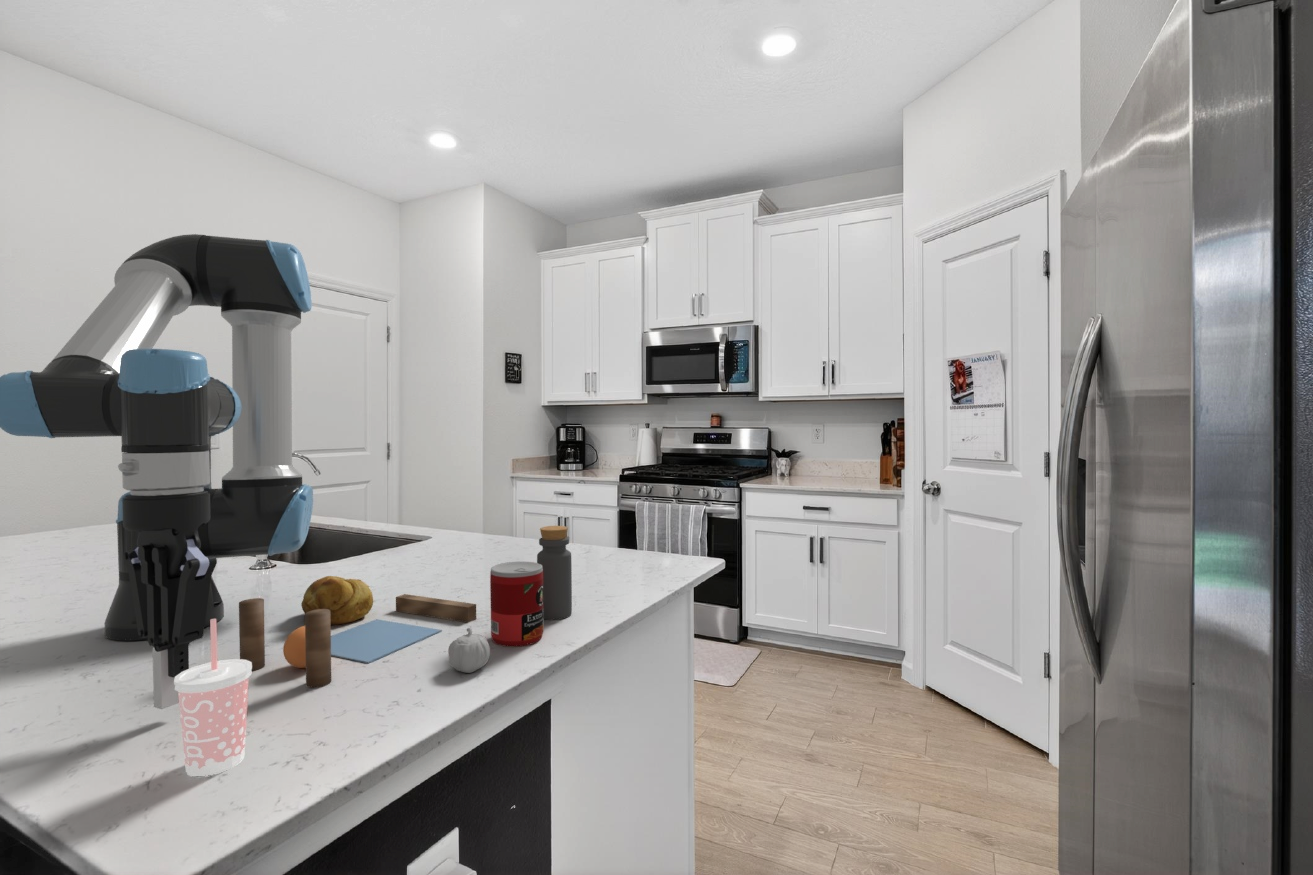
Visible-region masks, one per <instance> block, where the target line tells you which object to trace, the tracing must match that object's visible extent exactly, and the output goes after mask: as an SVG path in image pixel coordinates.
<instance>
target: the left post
mask: <svg viewBox="0 0 1313 875" xmlns="http://www.w3.org/2000/svg"><path fill="white" fill-rule="evenodd" d="M238 621H239V622H238V625H239V626H238V627H239V628H238V629H239V632H238V633H239V659H243V660H248V661H250V662H252V672H253V671H259V670H261V669H263V668H264V667H265V666H266V650H265V649H266V646H265V645H266V644H265V642H266V641H265V640H266V639H265V637H266V636H265V599H264V598H259V597H256V598H249V599H244V600H241V601H239V602H238Z"/></svg>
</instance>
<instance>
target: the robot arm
mask: <svg viewBox="0 0 1313 875" xmlns="http://www.w3.org/2000/svg"><path fill="white" fill-rule="evenodd" d="M113 279H114V280H113V282H114V287H113V288H111V290H110V291H109V292H108V293H107V294H106V295H105V297H104V299H103V300H101V302H100V303H99V305H98V306H96V308H95V309H94V310H93V311H92V312H91V314H90V315H89V317H87V319H86V320H85V321H84V322H83V323H82V324H81V326H80V327H79V328H78V329H77V331H75V333H74V334H73V335H72V336H71V337H70V339H69V340H68V341H67V342H66V343H65V345H64V346H63V347H62V348H61V349H60V351H58V353H57V354H56V355H55V356H54V358H53V359H52V360H51V361H50V362H49V363H48V364H47V365H46V366H45V367H44V368H43V369H42V371H33V370H26V371H23V372H22V371H20V372H16V371H15V372H8V373H6V374H5V373H4V374H3V375H0V429H1V430H2V431H4V432H5V433H7V434H9V435H11V436H15V437H16V436H17V437H35V438H36V437H38V438H41V437H43V438H49V439H55V438H89V437H90V438H91V437H92V438H95V437H98V438H99V437H121V463H119V464H118V465H117V468H118V471H119V472H121V473H122V476H121V478H122V489H123V490H125V491H127V492H125V493H123V494H122V495H121V496H120V498H119V499H118V502H117V519H116V520H115V524H116V527H117V528H116V530H117V533H116V534H117V559H118V563H117V564H118V566H117V567H118V586H117V589H116V592H115V595H114V597H113V599H112V602H111V605H110V607H109V610H108V613H107V615H106V618H105V619H104V620H105V621H104V637H105V638H107V639H110V640H113V641H142V640H147V643H148V645H149V646H150V647H152V683H153V684H152V685H153V708H155V709H159V710H164V709H166V708H169V707H172V706H174V705H175V706H176V705H177V704H178V705H179V696H178V691H176V690H174V689H175V685H174V679H175V676H177V675H178V674H179V673H181V672H183V671H185V670H187V669H190V664H189V662H190V660H189V656H190V655H189V654H190V653H189V651H190V650H189V645H190V643H192V642H194V641H197V640H200V639H202V638H203V637H204V630H205V628H206V627H207V628H208V627H209V626H210V620H211V619H216V623H218V622H219V621H221V620H222V619H223V618H224V617H225V610H224V609H225V608H224V607H225V606H224V601H223V599H222V596H221V594H220V592H219V589H218V587H217V585H216V583H215V580H214V578H213V573H214V570H215V568H216V567H217V564H218V563H217V560H218V559H222V558H237V557H249V556H263V555H264V556H265V555H268V556H274V555H277V554H288V553H294V552H296V551H299V549H301V548H302V547H303V545H304V544H305V542H306V540H307V536H308V533H309V529H310V525H311V520H312V516H313V515H312V513H313V507H314V506H313V505H314V498H313V497H314V491H313V487H312V486H311V485H309V484H303V474H302V473H301V472H300V471H298V469H295V467H294V466H293V420H292V419H293V417H292V416H293V415H292V414H293V413H292V412H293V409H292V407H293V406H292V405H293V401H292V400H293V399H292V396H293V395H292V390H293V388H292V384H293V383H292V382H293V380H292V331H293V330H294V329H296V328H297V327H298V326H299V325H301V323H302V313H303V314H305V313H308V312H311V310H312V294H311V293H312V291H311V286H310V281H309V280H310V279H309V276H308V271H307V267H306V264H305V261H304V258H303V255H302V253H301V252H300V250H299V249H298V247H296V246H295V245H293V244H291V243H288V242H287V243H285V242H278V241H271V240H269V239H265V240H264V239H263V240H262V239H249V238H238V237H228V236H218V235H217V236H216V235H206V234H196V233H195V234H194V233H193V234H192V233H191V234H181V235H176V236H172V237H168V238H165V239H161V240H159V241H156V242H154V243H151V244H149V245H147V246H145V247H143V248H141V249H140V250H137V251H136V252H135V253H132V254H131V255H130V256H129V257H128V258H126V259H125V260H124V262H122V263H121V265H120V266H119V267H118V268H117V270H116V271H115V273H114V278H113ZM194 306H204V307H216V308H217V307H219V308H220V316H221V318H223V319H224V320H225V321H226V322H227V323H228V324H229V325H230V327H231V336H232V339H231V342H232V343H231V344H232V345H231V349H232V350H231V351H232V352H231V353H232V354H231V356H232V357H231V358H232V365H231V366H232V367H231V368H232V375H231V376H232V379H231V380H232V382H231V384H232V387H231V386H230V385H228V384H227V383H224V381H221V380H220V379H218V378H215V377H213V376H210V374H209V370H208V362H207V358H206V357H205V356H204V355H202V354H201V353H199V352H194V351H187V350H182V349H181V350H180V349H169V348H168V349H166V348H164V349H163V348H154V346H155V345H156V343H157V341H158V340H159V339H160V337H161V335H162V333H163V332H164V331H165V329H166V328H167V326H168V325H169V323H170V321H171V320H172V318H173V317H174V316H178V315H180V314H182V313H183V312H185V311H186V310H187V309H188V308H189V307H194ZM231 428H232V467H231V469H230V470H229V471H228V472H227V473H225V475H223V476H222V477H221V487H219V488H211V485H210V484H211V464H210V461H211V460H210V444H209V442H210V440H209V439H210V437H214V436H216V435H220V434H221V433H225V432H227V431H228V430H229V429H231Z"/></svg>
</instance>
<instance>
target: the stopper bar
mask: <svg viewBox="0 0 1313 875" xmlns="http://www.w3.org/2000/svg"><path fill="white" fill-rule="evenodd" d="M395 612H399V613H406V614H412V615H419V616H425V617H430V618H431V617H432V618H437V619H438V618H439V619H443V620H449V621H450V620H451V621H457V622H463V623H470V622H473V621H475V620H477V604H476V603H471V602H466V601H464V602H463V601H458V600H456V601H455V600H449V599H441V598H435V597H434V598H433V597H428V596H421V595H414V594H406V593H404V594H401V595H397V596H396V597H395Z"/></svg>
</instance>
